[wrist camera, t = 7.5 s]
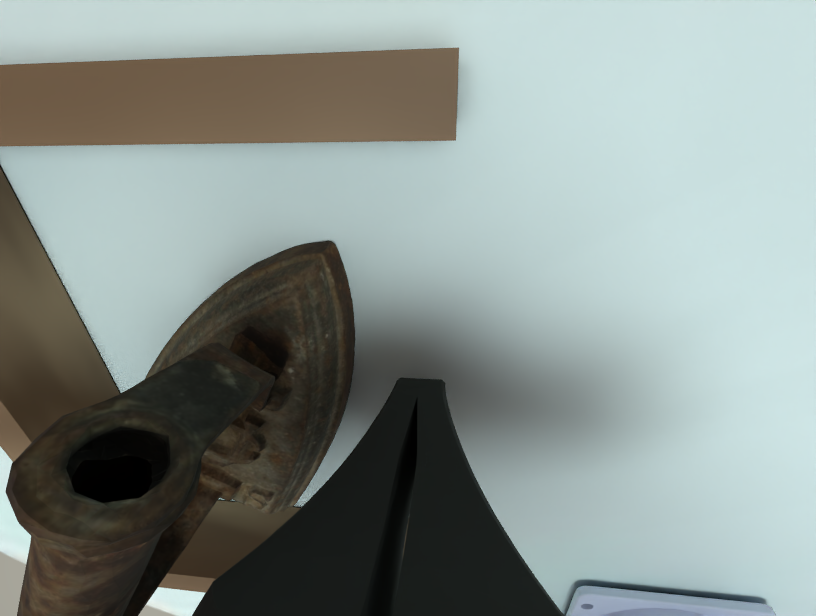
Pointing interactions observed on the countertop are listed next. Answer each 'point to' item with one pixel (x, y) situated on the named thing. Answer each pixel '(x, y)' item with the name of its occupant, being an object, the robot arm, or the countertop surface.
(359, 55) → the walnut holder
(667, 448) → the countertop surface
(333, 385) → the clothes iron
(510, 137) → the countertop surface
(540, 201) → the countertop surface
